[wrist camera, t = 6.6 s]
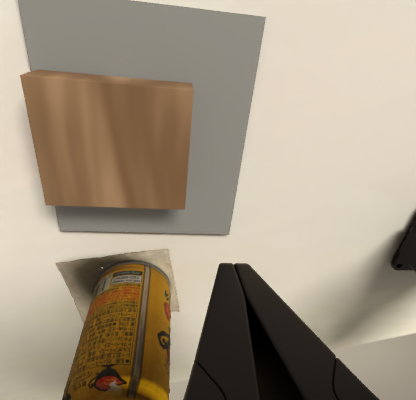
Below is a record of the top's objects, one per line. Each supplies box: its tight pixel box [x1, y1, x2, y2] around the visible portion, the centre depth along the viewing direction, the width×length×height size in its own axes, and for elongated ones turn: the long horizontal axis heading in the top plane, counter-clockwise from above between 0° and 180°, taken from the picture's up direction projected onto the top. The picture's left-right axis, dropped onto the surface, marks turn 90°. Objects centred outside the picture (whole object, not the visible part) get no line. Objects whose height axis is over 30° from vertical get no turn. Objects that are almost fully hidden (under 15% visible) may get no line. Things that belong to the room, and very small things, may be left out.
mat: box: [18, 0, 266, 235], centre depth 18 cm, size 12×14×1 cm
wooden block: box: [20, 69, 194, 210], centre depth 17 cm, size 2×7×8 cm
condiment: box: [56, 249, 180, 400], centre depth 20 cm, size 7×8×12 cm
